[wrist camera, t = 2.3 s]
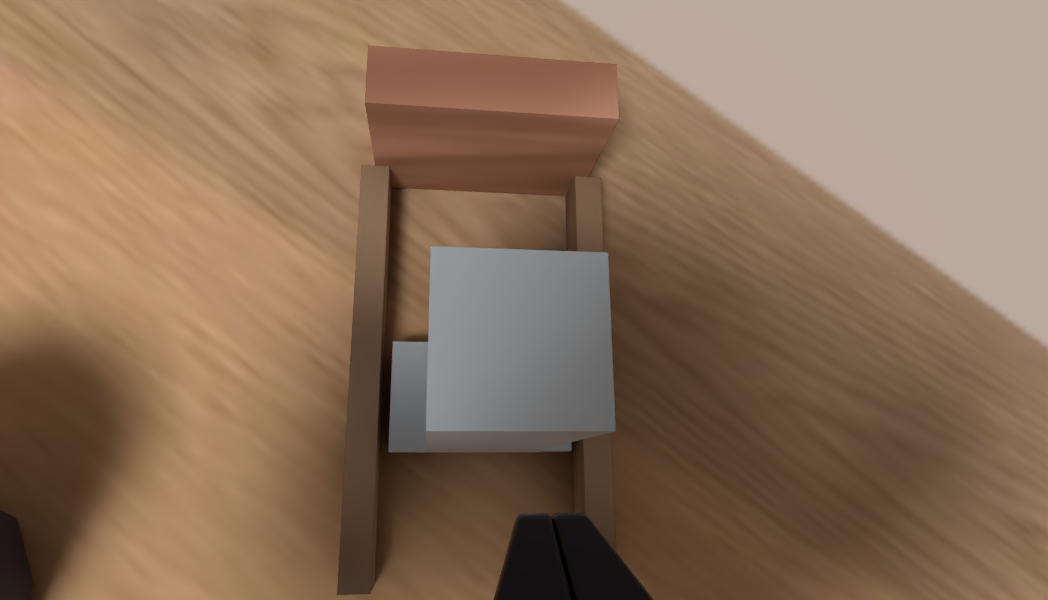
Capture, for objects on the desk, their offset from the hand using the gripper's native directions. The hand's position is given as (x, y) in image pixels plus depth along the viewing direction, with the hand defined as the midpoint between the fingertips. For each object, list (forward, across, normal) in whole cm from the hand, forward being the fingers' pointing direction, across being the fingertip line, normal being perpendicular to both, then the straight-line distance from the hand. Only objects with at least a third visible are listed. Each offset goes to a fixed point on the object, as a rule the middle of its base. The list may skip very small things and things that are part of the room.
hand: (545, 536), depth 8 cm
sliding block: (+10, 0, +6) cm, 12 cm away
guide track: (+12, 0, +4) cm, 13 cm away
